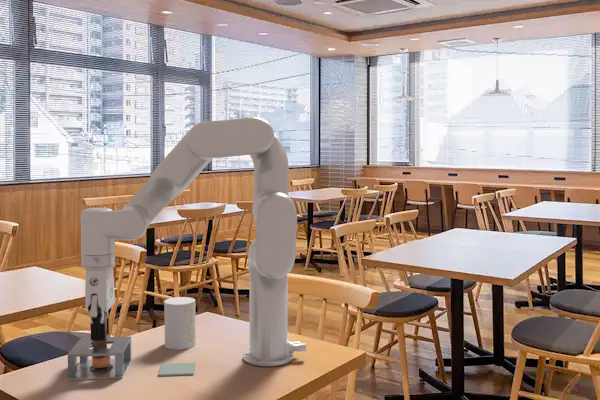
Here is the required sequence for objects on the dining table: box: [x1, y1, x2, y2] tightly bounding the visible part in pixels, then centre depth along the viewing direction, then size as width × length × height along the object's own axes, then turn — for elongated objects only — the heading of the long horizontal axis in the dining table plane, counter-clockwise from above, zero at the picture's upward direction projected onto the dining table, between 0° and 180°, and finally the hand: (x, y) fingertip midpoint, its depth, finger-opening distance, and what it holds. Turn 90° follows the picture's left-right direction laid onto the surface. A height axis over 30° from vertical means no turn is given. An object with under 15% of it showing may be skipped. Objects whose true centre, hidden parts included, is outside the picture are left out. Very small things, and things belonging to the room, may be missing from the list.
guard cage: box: [67, 336, 133, 381], centre depth 141 cm, size 12×12×6 cm
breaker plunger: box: [91, 356, 111, 368], centre depth 141 cm, size 4×4×2 cm
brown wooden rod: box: [92, 308, 108, 359], centre depth 141 cm, size 3×3×13 cm
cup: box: [163, 296, 197, 351], centre depth 160 cm, size 8×8×12 cm
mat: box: [158, 362, 196, 377], centre depth 142 cm, size 8×7×1 cm
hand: (100, 336), depth 141 cm, fingers closed on brown wooden rod, 3 cm apart
